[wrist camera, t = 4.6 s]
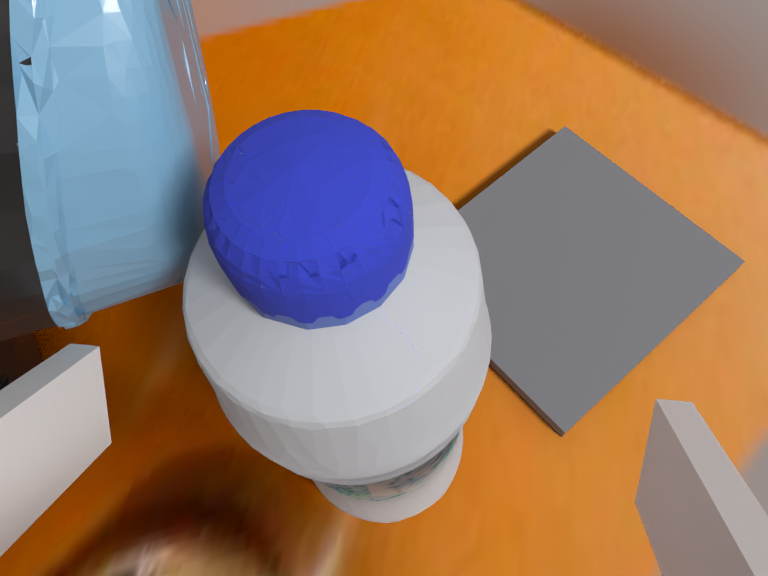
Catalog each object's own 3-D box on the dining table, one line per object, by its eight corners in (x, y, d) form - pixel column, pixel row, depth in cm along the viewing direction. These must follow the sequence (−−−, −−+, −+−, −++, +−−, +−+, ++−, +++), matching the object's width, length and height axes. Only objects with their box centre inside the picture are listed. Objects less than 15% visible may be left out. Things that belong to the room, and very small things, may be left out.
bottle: (311, 380, 29) (107, 25, 11) (458, 371, 28) (499, -9, 10) (308, 536, 26) (19, 409, 8) (472, 529, 25) (565, 379, 7)
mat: (394, 269, 31) (393, 261, 30) (562, 136, 34) (564, 126, 33) (561, 437, 27) (564, 432, 26) (737, 269, 30) (744, 261, 29)
